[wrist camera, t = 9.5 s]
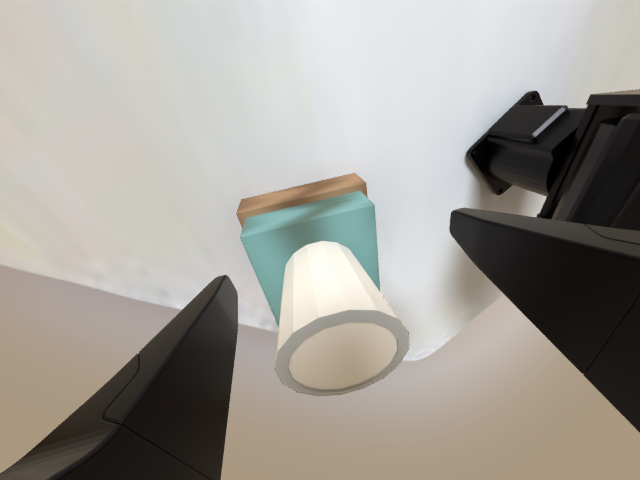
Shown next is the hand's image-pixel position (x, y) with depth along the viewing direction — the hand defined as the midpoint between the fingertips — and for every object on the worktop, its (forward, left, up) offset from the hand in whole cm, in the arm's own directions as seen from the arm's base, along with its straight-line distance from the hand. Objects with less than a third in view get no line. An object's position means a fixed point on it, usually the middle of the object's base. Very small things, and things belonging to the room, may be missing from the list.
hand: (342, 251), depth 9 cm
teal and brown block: (-4, +4, -12) cm, 14 cm away
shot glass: (-4, +4, -6) cm, 9 cm away
